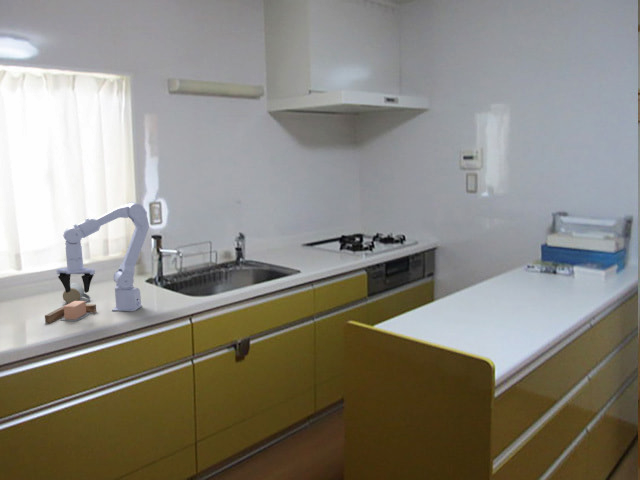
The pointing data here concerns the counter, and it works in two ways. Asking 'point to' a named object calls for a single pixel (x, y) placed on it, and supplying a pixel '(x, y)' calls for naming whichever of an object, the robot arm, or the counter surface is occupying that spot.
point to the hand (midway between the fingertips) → (77, 292)
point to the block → (75, 309)
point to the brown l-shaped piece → (60, 313)
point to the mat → (77, 318)
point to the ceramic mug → (75, 294)
